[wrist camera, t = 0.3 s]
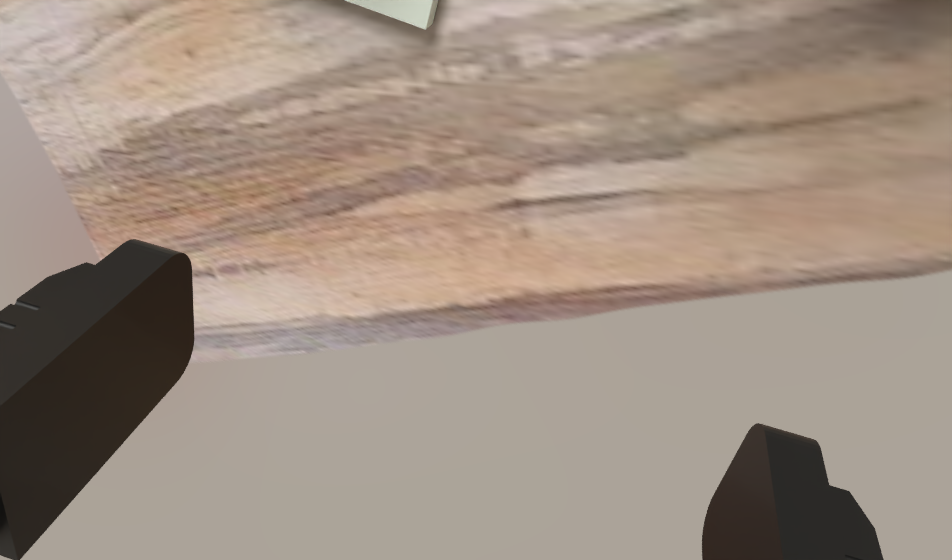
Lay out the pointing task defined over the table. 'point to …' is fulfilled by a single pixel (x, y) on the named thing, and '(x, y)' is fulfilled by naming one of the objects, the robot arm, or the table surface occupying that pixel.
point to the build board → (403, 10)
